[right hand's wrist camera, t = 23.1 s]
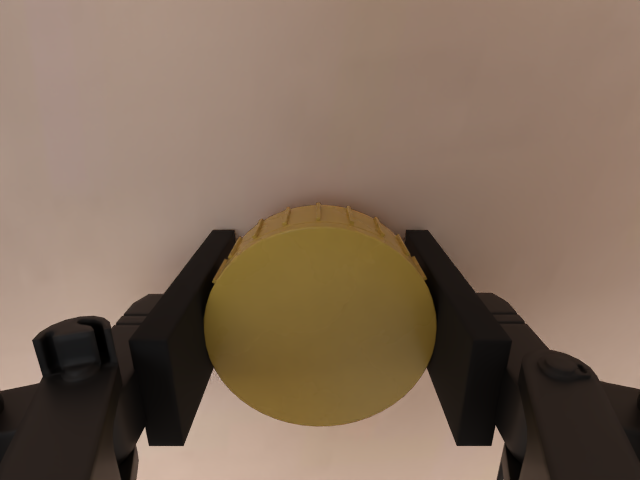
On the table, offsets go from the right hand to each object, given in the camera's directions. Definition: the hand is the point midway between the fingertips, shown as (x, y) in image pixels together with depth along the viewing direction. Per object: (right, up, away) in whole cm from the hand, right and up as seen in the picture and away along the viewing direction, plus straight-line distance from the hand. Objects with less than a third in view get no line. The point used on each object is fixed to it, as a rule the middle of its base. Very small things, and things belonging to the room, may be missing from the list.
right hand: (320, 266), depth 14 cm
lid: (0, -1, -4) cm, 4 cm away
